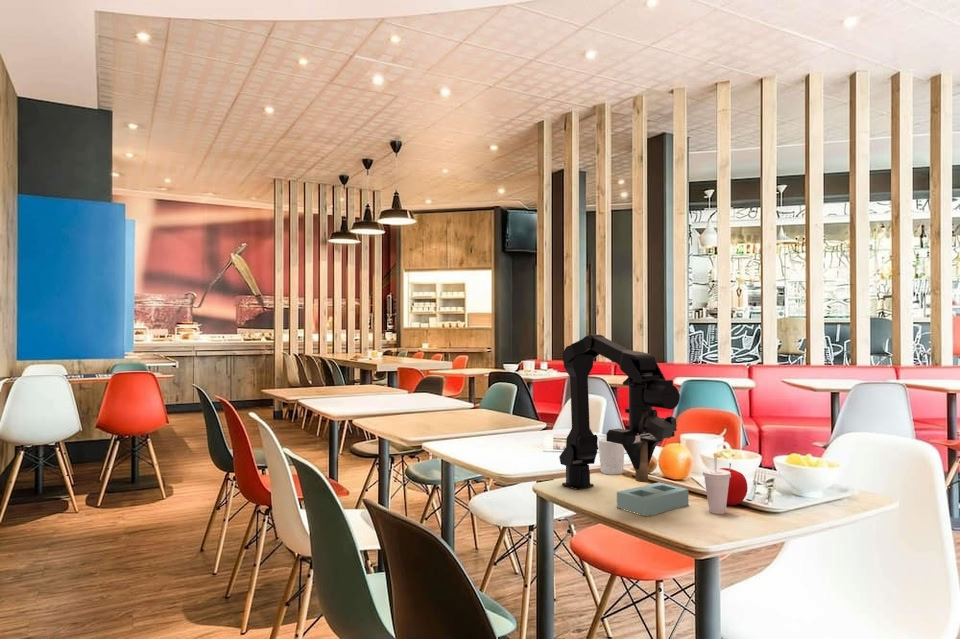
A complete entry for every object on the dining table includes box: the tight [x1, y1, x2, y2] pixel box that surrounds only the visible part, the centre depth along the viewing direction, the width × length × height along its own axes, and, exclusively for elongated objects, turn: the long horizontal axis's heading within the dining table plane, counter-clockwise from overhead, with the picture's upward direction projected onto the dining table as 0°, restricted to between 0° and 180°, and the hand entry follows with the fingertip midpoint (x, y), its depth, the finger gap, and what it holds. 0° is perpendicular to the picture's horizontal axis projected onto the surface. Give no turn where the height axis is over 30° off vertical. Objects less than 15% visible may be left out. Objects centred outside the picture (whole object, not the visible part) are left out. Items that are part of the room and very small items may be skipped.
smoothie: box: [702, 453, 731, 515], centre depth 151 cm, size 6×6×14 cm
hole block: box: [616, 482, 690, 517], centre depth 155 cm, size 9×16×4 cm, turn 124°
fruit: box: [719, 462, 748, 506], centre depth 158 cm, size 9×9×10 cm
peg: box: [634, 441, 649, 483], centre depth 153 cm, size 3×3×10 cm
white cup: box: [598, 437, 625, 476], centre depth 193 cm, size 8×8×10 cm
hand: (641, 468), depth 153 cm, fingers closed on peg, 3 cm apart
